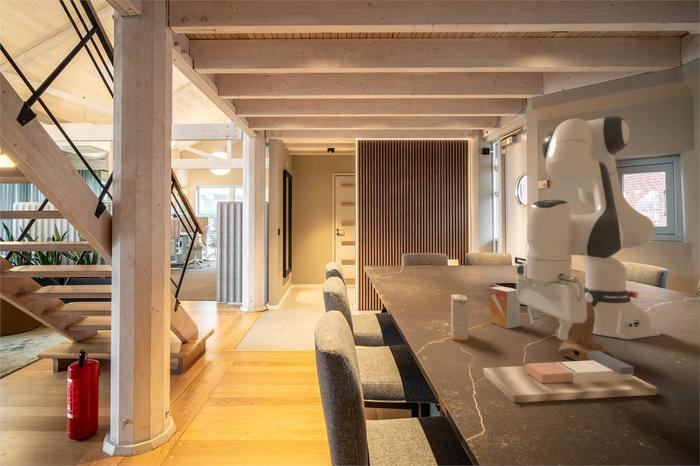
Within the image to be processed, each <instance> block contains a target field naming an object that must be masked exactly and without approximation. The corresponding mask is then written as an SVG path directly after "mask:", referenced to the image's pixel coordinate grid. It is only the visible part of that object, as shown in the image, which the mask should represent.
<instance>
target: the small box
mask: <svg viewBox="0 0 700 466" xmlns="http://www.w3.org/2000/svg"><path fill="white" fill-rule="evenodd" d="M489 291H490V292H489V323H490V324H494V325H496V326H499V327H502V328H504V329H512V328H518V327H520V324H521V323H520V322H521V317H520V316H521V314H520V313H521V309H520V307H521V303H520V302H519V300H518V298H517V288H516V289H515V288H513V287H508V286H507V287H506V286H502V285H501V286H494V287H493V286H492V287H489Z"/></svg>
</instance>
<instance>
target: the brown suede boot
mask: <svg viewBox="0 0 700 466" xmlns="http://www.w3.org/2000/svg"><path fill="white" fill-rule="evenodd" d="M586 305H587V319H586V320H585V322H583V323H572V326H571V328H570V330H569V331H568V339H566V340H562V341H563V342H561V345H560V346H559V348H558V352H559V353H561V354H562V355H564V356H565V357H567V358H569V359H571V360H573V361H591V360H592V359H590V358H588V357H587V351H600V352H603V353H605V352H604V351H605V346H604V345H603V344H601V343H598V342H595V341H594V340H593V337H594V336H593V334H594V333H593V328H594V323H595V315H594V308H593V305H592V303H591V302H590V301H587V300H586ZM556 319H557V322H558V324H559V325H560V323H559V318H556Z"/></svg>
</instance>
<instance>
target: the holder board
mask: <svg viewBox="0 0 700 466" xmlns="http://www.w3.org/2000/svg"><path fill="white" fill-rule="evenodd" d="M482 368H483V369H482V374H483V376H484V377H486V379H488V380H489V381H490V383H492V384H493V385H494V386H495V387H496V388H497V389H498V390H500V392H501V393H503V394H504V396H506V397H507V399H509V400H510V401H511V402H512V403H531V402H549V401H565V400H566V401H569V400H584V399H600V398H601V399H602V398H620V397H635V396H636V397H637V396H638V397H639V396H655V395H657V394H658V387H657V386H654V385H652V384H651V383H648V382H646V381H644V380H642V379H641V378H639V377H636V376H634V374H632V380H621V381H602V382H583V383H572V382H558V383H541V382H539V381H538V380H536V379H535V378H534V377H532V376H531V375H530V374H528V373H527V372H526V365H518V366H517V365H516V366H500V367H498V366H497V367H482Z"/></svg>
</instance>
